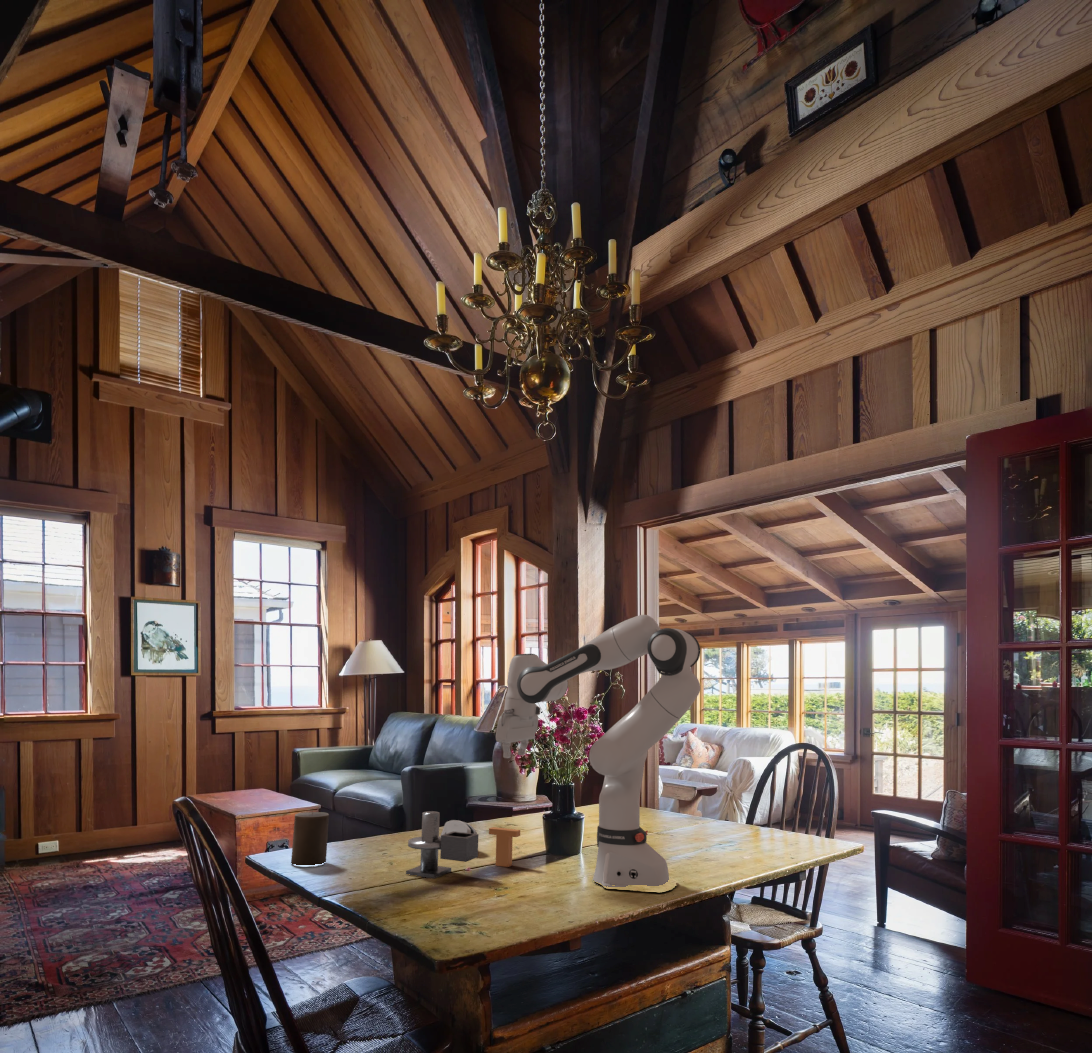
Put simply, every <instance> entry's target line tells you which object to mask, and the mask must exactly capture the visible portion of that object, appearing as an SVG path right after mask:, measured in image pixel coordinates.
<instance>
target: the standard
mask: <svg viewBox="0 0 1092 1053" xmlns="http://www.w3.org/2000/svg"><path fill="white" fill-rule="evenodd" d="M440 813H441V812H439V811H433V810H431V811H424V812H422V813H421V814H422V816H421V817H422V818H421V836H416V837H413V838H410V839H408V841H407V846H408V847H409V848H410V849H414V850H420V862H419V863H420V865H418V866H415V867H413V868H411V869H408V870H406V871H405V875H406V874H410V875H409V876H411V875H417V876H416V877H418V876H421V877H420V878H425V877H426V879H433V880H435V879H437V878H440V877H442V876H444V875H446V874H449V873H451V872H452V867H447V866H440V865H439V856H440V860H447V861H448V860H449V861H456V862H465V863H467V862H469V861H472V860H474V859H477V858H478V857H479V834H478V833H477V834H472V833H463V832H454V831H453V832H450V833H447V834H444V835H441V834H440V819H441V818H440V817H441V816H440ZM440 836H441V837H440ZM439 849H441V850H440V853H439Z"/></svg>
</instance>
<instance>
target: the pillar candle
mask: <svg viewBox="0 0 1092 1053" xmlns="http://www.w3.org/2000/svg"><path fill="white" fill-rule="evenodd" d="M329 820H330V814H329V813H328V812H324V811H323V812H322V811H321V812H319V811H309V812H308V811H306V812H298V813H295V814H294V822H293V823H294V824H293V837H292V847H291V848H292V849H291V862H290V864H291V863H292V864H296V865H315V864H322V863H324V862H326V863H327V853H328V852H327V850H328V836H329V834H328V832H329ZM292 864H291V865H292Z"/></svg>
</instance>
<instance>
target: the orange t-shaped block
mask: <svg viewBox="0 0 1092 1053" xmlns="http://www.w3.org/2000/svg"><path fill="white" fill-rule="evenodd" d="M488 835H493V836H495V839H496V840H495V866H498V867H504V868H508V867H511V866H512V865H513V838H517V837H521V829H517V828H506V827H505V828H504V827H496V826H492V827H489V828H488Z"/></svg>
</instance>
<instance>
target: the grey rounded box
mask: <svg viewBox="0 0 1092 1053" xmlns="http://www.w3.org/2000/svg"><path fill="white" fill-rule="evenodd" d="M453 831H454V832H463V833H472V834H478V831H477V830H476V829H475V828H474V826H472V825H470V824H469V823H468V822H465V821H461V820H459V819H458V820H456V819H451V820H449V821H448V820H447V821H446V822H445V823H444V825H443V828H442V832H441V833H440V835H439V837H441V835H444V834H447V833H450V832H453ZM438 851H441V849H438Z"/></svg>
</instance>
